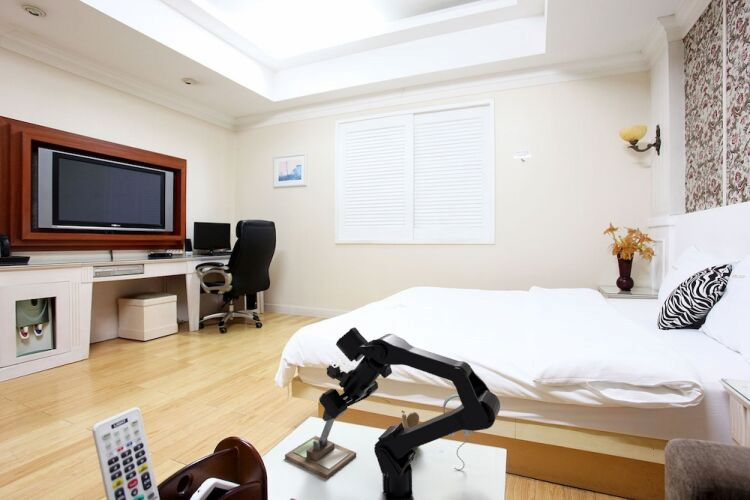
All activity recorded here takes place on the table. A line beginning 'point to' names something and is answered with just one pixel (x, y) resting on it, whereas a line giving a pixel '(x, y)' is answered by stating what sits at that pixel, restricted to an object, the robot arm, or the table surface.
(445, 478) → the table surface
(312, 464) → the switch base
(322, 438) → the toggle lever
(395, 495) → the robot arm
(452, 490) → the table surface
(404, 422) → the snail figurine
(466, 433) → the headphones
